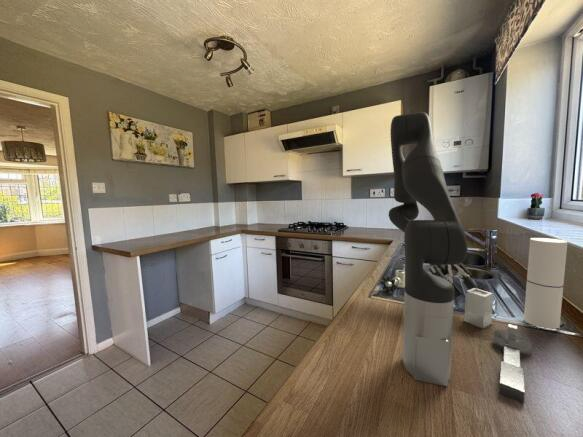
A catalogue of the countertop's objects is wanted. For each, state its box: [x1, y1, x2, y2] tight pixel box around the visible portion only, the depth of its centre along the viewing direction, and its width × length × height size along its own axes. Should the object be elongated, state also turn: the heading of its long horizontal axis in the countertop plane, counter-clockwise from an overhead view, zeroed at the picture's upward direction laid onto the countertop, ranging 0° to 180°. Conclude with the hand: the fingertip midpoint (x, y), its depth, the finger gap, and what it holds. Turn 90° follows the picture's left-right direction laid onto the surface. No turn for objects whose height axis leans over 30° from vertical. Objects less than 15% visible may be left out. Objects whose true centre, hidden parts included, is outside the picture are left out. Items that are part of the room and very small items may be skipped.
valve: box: [380, 269, 405, 293], centre depth 97 cm, size 7×7×12 cm
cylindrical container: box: [523, 237, 568, 329], centre depth 68 cm, size 7×7×25 cm
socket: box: [463, 287, 494, 330], centre depth 70 cm, size 5×5×10 cm
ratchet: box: [492, 323, 533, 404], centre depth 53 cm, size 24×7×6 cm, turn 137°
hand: (467, 293), depth 72 cm, fingers open, 8 cm apart
